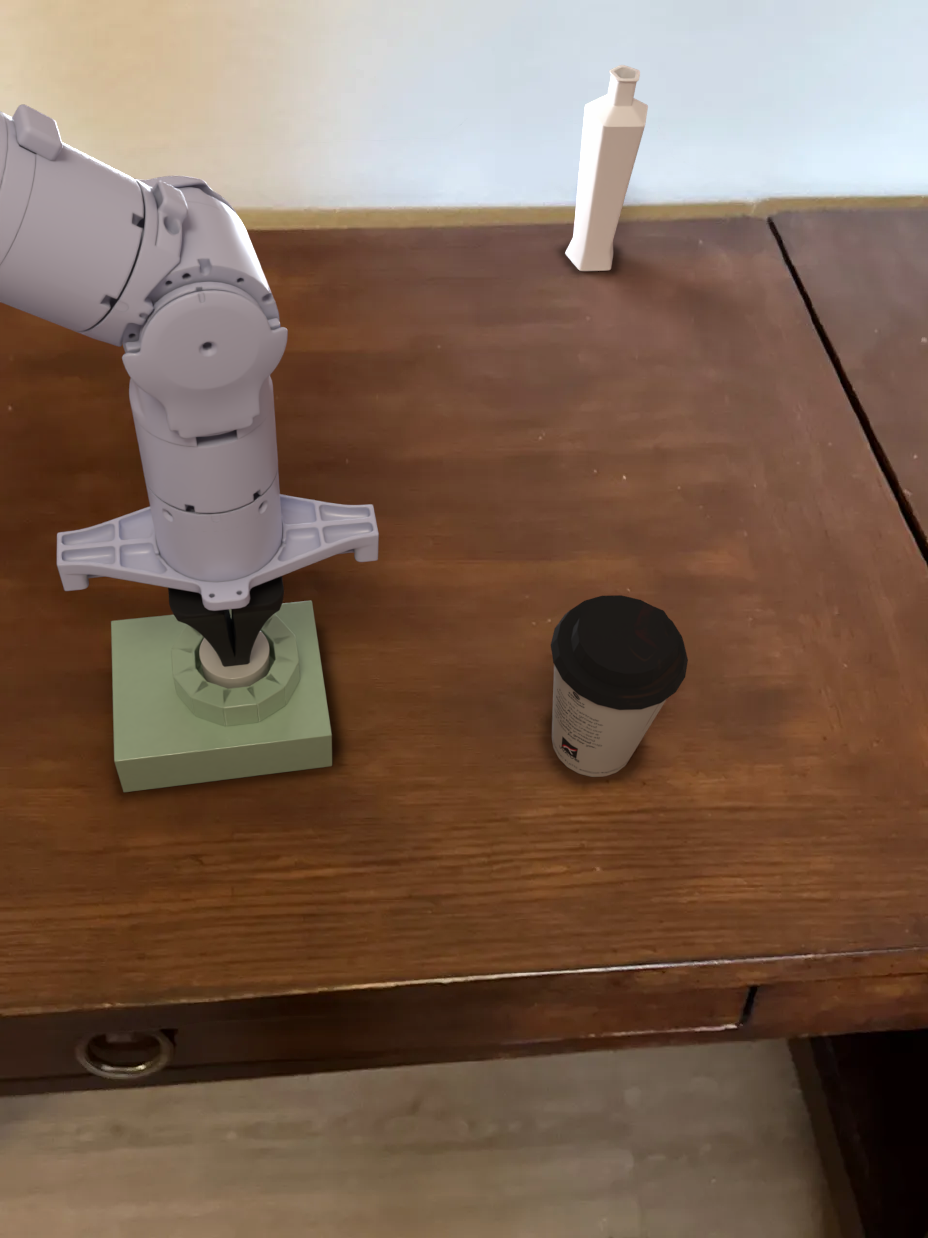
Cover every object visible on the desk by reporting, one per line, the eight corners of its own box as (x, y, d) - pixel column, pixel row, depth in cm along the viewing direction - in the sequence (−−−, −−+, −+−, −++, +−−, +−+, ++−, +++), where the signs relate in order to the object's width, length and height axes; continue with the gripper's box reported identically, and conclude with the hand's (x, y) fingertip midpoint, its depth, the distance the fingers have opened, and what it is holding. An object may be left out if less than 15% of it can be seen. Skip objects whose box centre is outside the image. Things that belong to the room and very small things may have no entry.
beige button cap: (205, 704, 63) (201, 682, 62) (200, 649, 65) (197, 626, 64) (274, 696, 64) (272, 674, 62) (267, 641, 66) (266, 619, 64)
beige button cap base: (123, 793, 64) (108, 742, 60) (119, 654, 69) (105, 600, 65) (332, 766, 66) (331, 716, 62) (313, 634, 71) (311, 580, 67)
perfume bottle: (551, 262, 94) (581, 77, 82) (574, 234, 97) (606, 50, 85) (605, 283, 93) (643, 98, 81) (627, 254, 96) (667, 70, 84)
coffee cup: (550, 806, 65) (577, 703, 57) (516, 699, 69) (538, 589, 61) (671, 784, 66) (715, 681, 59) (631, 681, 70) (667, 571, 63)
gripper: (34, 552, 49) (91, 731, 60) (391, 519, 51) (384, 697, 62) (37, 429, 53) (90, 618, 64) (367, 404, 55) (364, 590, 66)
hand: (234, 650), depth 63 cm, fingers closed, pressing on beige button cap
